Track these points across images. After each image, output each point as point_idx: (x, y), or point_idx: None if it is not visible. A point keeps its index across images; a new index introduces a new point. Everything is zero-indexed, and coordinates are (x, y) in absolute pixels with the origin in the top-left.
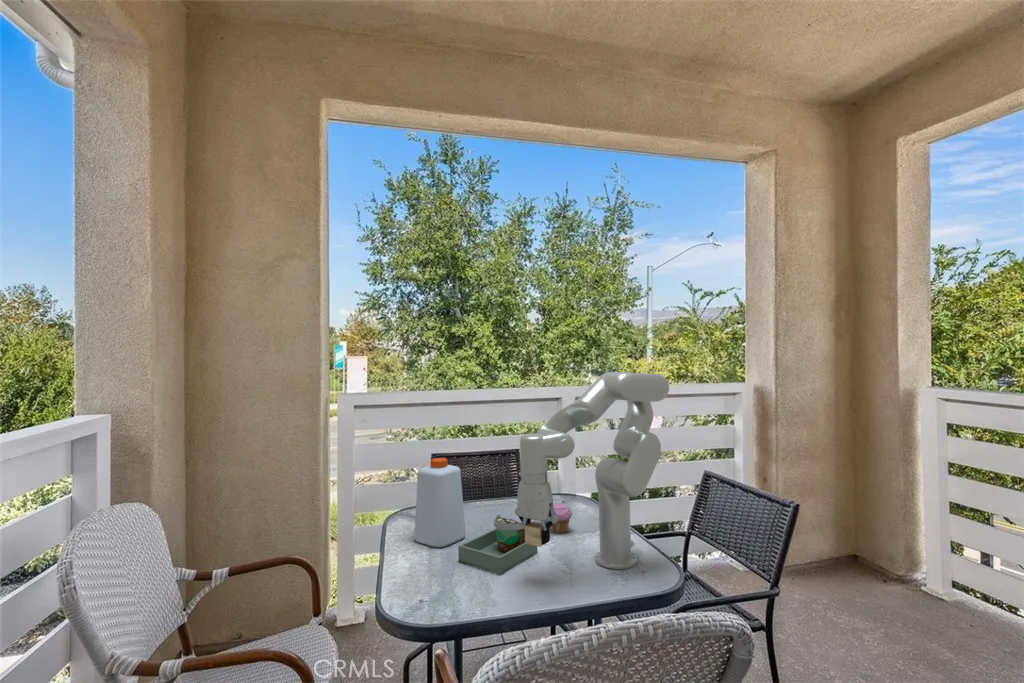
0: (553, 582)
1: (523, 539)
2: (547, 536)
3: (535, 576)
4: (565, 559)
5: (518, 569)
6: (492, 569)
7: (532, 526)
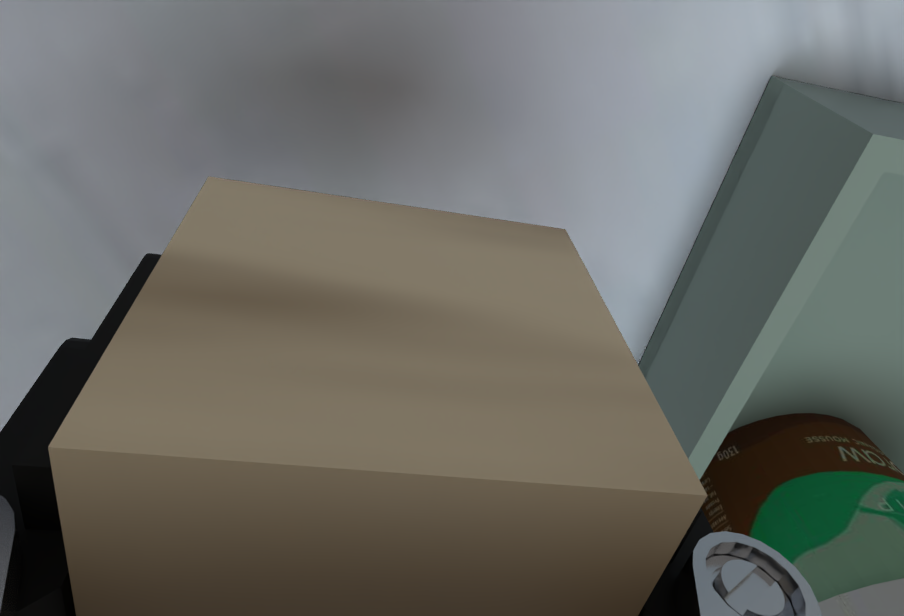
0: (231, 141)
1: None
2: (36, 410)
3: (440, 185)
4: None
5: (632, 246)
6: (877, 103)
7: (430, 545)
